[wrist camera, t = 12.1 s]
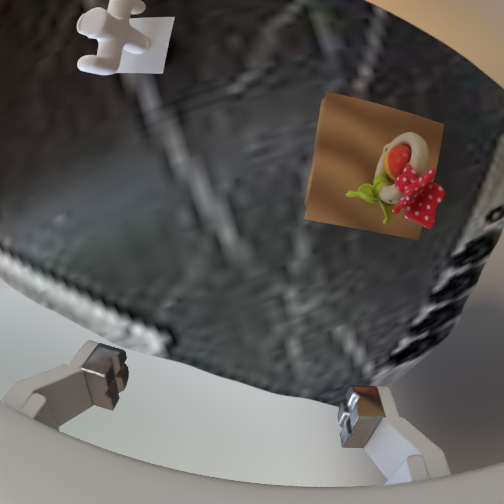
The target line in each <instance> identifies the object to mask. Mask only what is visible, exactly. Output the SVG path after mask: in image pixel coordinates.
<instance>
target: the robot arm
mask: <svg viewBox="0 0 504 504" xmlns="http://www.w3.org/2000/svg"><path fill="white" fill-rule="evenodd" d="M126 359H127V357H126V352H125V351H124V350H122V349H118V348H115V347H111V346H108V345H105V344H102V343H97V342H94V341H91V340H89V341H86V343H85V344H84V345H83V346H82V348H81V349H80V350H79V351H78V353H77V354H76V355H75V356H74V358H73V359H72V360H71V361H70V363H69V364H68V365H67V364H63V365H60V366H58V367H56V368H53V369H50V370H48V371H45V372H42V373H40V374H37V375H35V376H32V377H29V378H27V379H24V380H22V381H19V382H17V383H16V384H15V385H14V386H13V387H12V389H11V390H10V391H9V392H8V393H7V395H6V396H5V397H4V398H3V400H2V401H0V504H504V462H500V463H497V464H493V465H490V466H486V467H483V468H479V469H475V470H471V471H467V472H463V473H458V474H454V475H451V473H450V470H449V467H448V464H447V461H446V458H445V455H444V452H443V451H442V450H441V449H440V448H439V447H438V446H436V445H435V444H434V443H433V442H432V441H430V440H429V439H428V438H427V437H426V436H424V435H423V434H422V433H421V432H420V431H418V430H417V429H416V428H415V427H414V426H413V425H411V424H410V423H409V422H408V421H407V420H405V419H404V418H403V417H399V414H398V412H397V409H396V405H395V402H394V400H393V397H392V394H391V391H390V388H389V387H388V386H356V385H350V386H349V387H348V388H347V391H346V397H347V398H345V399H344V400H342V402H341V404H340V407H339V412H338V422H339V425H340V426H341V427H342V428H343V429H342V431H341V433H340V437H341V444H342V447H346V448H363V449H364V450H365V452H366V453H367V454H368V455H369V457H370V458H371V459H372V460H373V462H374V463H375V464H376V465H377V466H378V468H379V469H380V470H381V471H382V473H383V474H384V475H385V476H386V478H387V479H388V481H387V482H386V483H385V484H384V485H373V486H358V487H357V486H356V487H297V486H280V485H268V484H258V483H249V482H240V481H234V480H227V479H220V478H214V477H209V476H203V475H198V474H193V473H188V472H184V471H179V470H175V469H171V468H167V467H163V466H159V465H155V464H151V463H148V462H144V461H141V460H137V459H134V458H131V457H127V456H124V455H121V454H118V453H115V452H112V451H109V450H106V449H103V448H100V447H98V446H95V445H92V444H90V443H87V442H84V441H82V440H80V439H77V438H75V437H72V436H70V435H67V434H65V433H63V432H61V430H60V428H59V426H61V425H62V424H64V423H66V422H67V421H69V420H71V419H72V418H74V417H75V416H77V415H79V414H80V413H82V412H83V411H85V410H87V409H88V408H90V407H92V406H93V405H96V406H100V407H103V408H106V409H110V410H114V408H115V406H116V404H117V402H118V400H119V394H118V393H119V392H121V391H123V390H124V389H125V387H126V385H127V381H128V376H129V375H128V374H129V371H128V367H127V365H126V364H125V363H124V362H125V360H126Z"/></svg>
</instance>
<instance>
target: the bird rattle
mask: <svg viewBox="0 0 504 504" xmlns="http://www.w3.org/2000/svg"><path fill="white" fill-rule="evenodd" d="M428 163H429V150H428V146H427V143H426V142H425V140H424V139H423V138H422V137H421V136H419V135H418V134H416V133H413V132H407V133H403V134H401V135H399V136H398V137H396V138H395V139H394V140H393V141H392V142H391V143H389V144H386V145H385V146H384V149H383V153H382V156H381V158H380V160H379V162H378V165H377V169H376V173H375V178H374V180H373V185H371V184H369V183H366V184H363V185H361V186H360V187H359V189H358V191H351V190H349V191H348V192H347V193H346V196H347V197H360V198H362V199H364V200H365V201H367V202H370V203H377V202H379V203H380V204H381V207H382V209H383V211H384V214H385V216H386V218H385V219H384V220H383V224H385V225H386V224H387V223H388V222H389V221H390V220H391V219H392V218H393V217H394V215H395V214H397V213H399V212H400V211H401V210H402V209H403V208H404V207H405V208H404V217H405V219H409V218H410V219H412V220H414V221H416V222H418V223H419V224H421V225H422V226H424V227H426V228H429V229H431V228H433V226H434V219H435V212H436V207H437V205H438V204H439V203H440V202H441V201H442V200H443V199H444V197H445V191H444V189H443V188H442V187H441V186H440V185H438V184H436V183H434V182H430V181H432V179H433V178H434V176H435V174H436V169H435V168H431V169H429V170H428V171H427V168H428ZM426 171H427V172H426ZM390 178H391V179H393V180H395V182H394V184H392V182H391V179H390Z"/></svg>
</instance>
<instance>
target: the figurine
mask: <svg viewBox="0 0 504 504" xmlns="http://www.w3.org/2000/svg"><path fill="white" fill-rule="evenodd" d="M145 8H146V5H145V4H144V3H143V2H142V1H141V0H110V2H109V6H108V10H107V11H106V10H104V9H103V8H93V9H91V10H89V11H88V12H87V13H84V14H82V15H81V17H80V18H79V20H78V23H77V30H78V32H79V33H81V34H84V35H86V36H88V38H94V39H97V40H98V43H99V47H98V52H97V56H95V55H86V56H83V57H81V58H80V59H79V61H78V63H77V66H78V68H79V69H80V70H81V71H84V72H89V73H94V74H99V75H111V74H114V73H158V74H163V70H164V65H165V60H166V55H167V50H168V45H169V40H170V35H171V31H172V26H173V22H174V18H175V17H151V18H131V19H130V15H131V14H139V13H142V12H143V11H144V10H145Z"/></svg>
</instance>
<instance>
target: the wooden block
mask: <svg viewBox="0 0 504 504" xmlns="http://www.w3.org/2000/svg"><path fill="white" fill-rule="evenodd" d="M443 130H444V124H441V123H439V122H436V121H433V120H430V119H427V118H424V117H421V116H418V115H415V114H412V113H408V112H405V111H402V110H398V109H395V108H391V107H388V106H384V105H381V104H377V103H373V102H369V101H365V100H361V99H357V98H353V97H348V96H344V95H339V94H335V93H330V92H326V93H325V98H324V99H322V100H321V105H320V112H319V119H318V125H317V132H316V138H315V144H314V150H313V156H312V162H311V168H310V174H309V180H308V185H307V191H306V197H305V202H304V205H305V208H306V213H305V220H310V221H316V222H322V223H328V224H334V225H339V226H345V227H351V228H356V229H362V230H367V231H372V232H378V233H383V234H388V235H394V236H399V237H404V238H409V239H414V240H419V237H420V234H421V230H422V227H423V226H422V225H421V224H419V223H418V222H416V221H414V220H412V219H410V218H409V219H405V217H404V208H405V207H404V208H403V209H402V210H401V211H400V212H399V213H397V214H395V215H394V217H393V218H392V219H391V220H390V221H389V222H388V223H387V224H386V225H385V224H383V220H384V219H385V218H386V216H385V214H384V211H383V209H382V207H381V204H380V203H379V202H377V203H370V202H367V201H365V200H364V199H362V198H360V197H347V196H346V193H347V192H348V191H349V190H351V191H358V189H359V187H360V186H361V185H363V184H366V183H369V184H371V185H373V180H374V178H375V173H376V169H377V165H378V162H379V160H380V158H381V156H382V153H383V149H384V146H385V145H386V144H389V143H391V142H392V141H393V140H394V139H395V138H396V137H398V136H399V135H401V134H403V133H407V132H413V133H416V134H418V135H419V136H421V137H422V138H423V139H424V140H425V142H426V143H427V146H428V150H429V163H428V168H427V171H428V170H429V169H431V168H435V169H436V168H437V163H438V158H439V153H440V147H441V142H442V136H443ZM427 171H426V172H427ZM434 178H435V176H434ZM434 178H433V179H432V181H430V182H434ZM390 179H391V178H390ZM391 182H392V184H394V182H395V180H393V179H391Z"/></svg>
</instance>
